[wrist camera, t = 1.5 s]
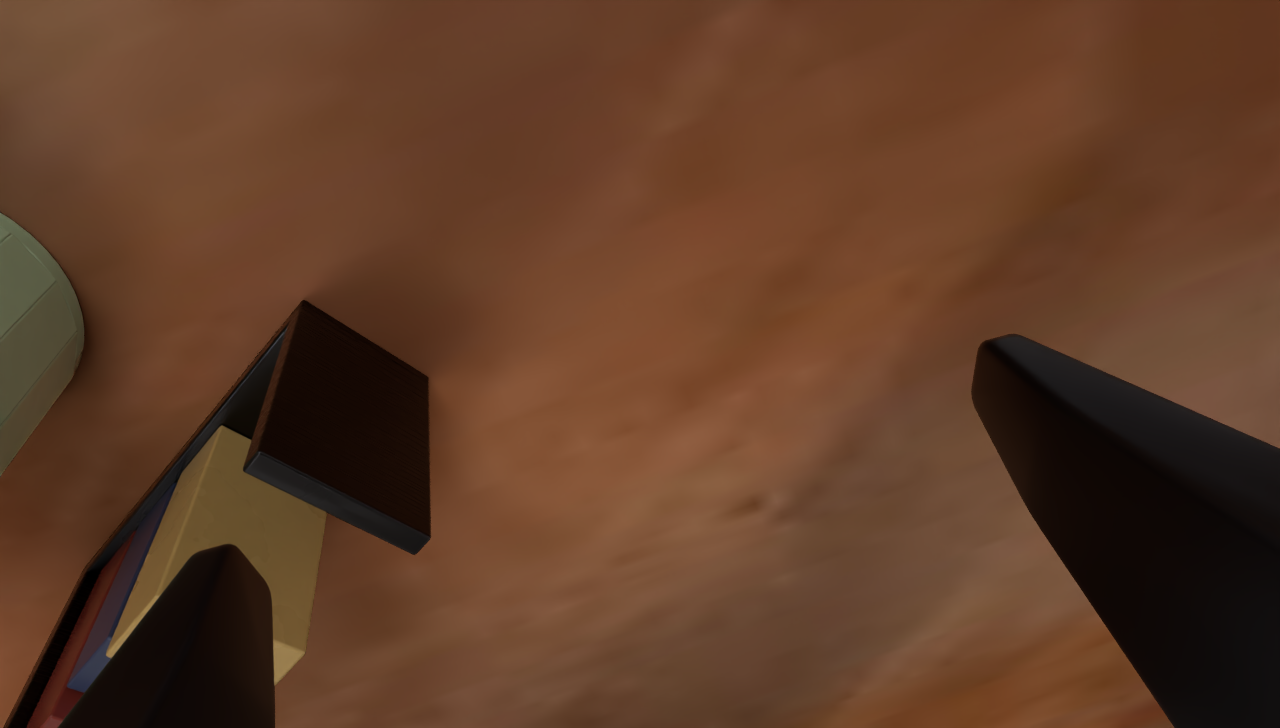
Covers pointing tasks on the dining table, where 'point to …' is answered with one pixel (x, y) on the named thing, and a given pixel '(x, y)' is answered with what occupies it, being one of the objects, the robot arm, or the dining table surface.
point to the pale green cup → (32, 336)
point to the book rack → (257, 498)
